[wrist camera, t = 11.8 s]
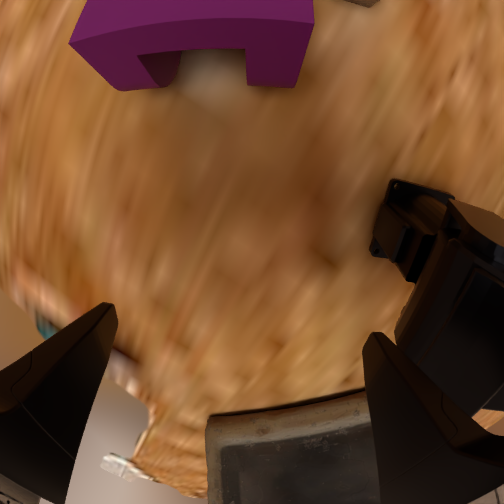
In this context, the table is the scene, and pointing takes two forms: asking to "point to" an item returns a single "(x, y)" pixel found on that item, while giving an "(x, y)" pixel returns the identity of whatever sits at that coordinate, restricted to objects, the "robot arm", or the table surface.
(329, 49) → the table surface
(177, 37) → the mounting bracket
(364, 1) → the stop blocks
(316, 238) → the table surface
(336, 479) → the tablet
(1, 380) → the robot arm
